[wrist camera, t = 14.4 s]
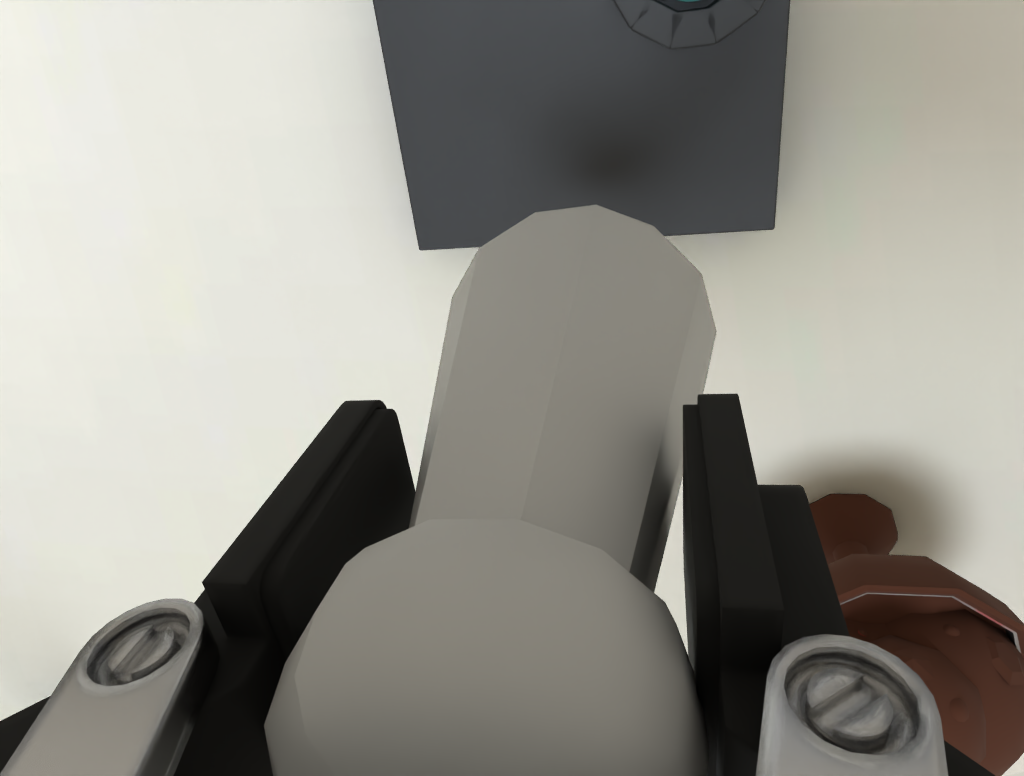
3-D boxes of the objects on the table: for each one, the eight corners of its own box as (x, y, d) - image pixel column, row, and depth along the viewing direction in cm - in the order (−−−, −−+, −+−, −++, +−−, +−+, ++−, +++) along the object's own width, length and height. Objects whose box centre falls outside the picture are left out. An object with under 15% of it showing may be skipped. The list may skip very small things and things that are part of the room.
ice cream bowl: (715, 576, 41) (742, 837, 28) (786, 427, 35) (861, 670, 22) (891, 623, 40) (1001, 913, 27) (993, 479, 34) (1193, 761, 22)
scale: (793, -179, 24) (813, -205, 21) (768, 218, 30) (780, 241, 27) (370, -101, 27) (334, -114, 24) (430, 239, 34) (408, 262, 31)
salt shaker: (705, 167, 15) (865, 646, 4) (710, 392, 18) (812, 1064, 6) (453, 198, 16) (21, 618, 5) (493, 402, 19) (266, 972, 8)
